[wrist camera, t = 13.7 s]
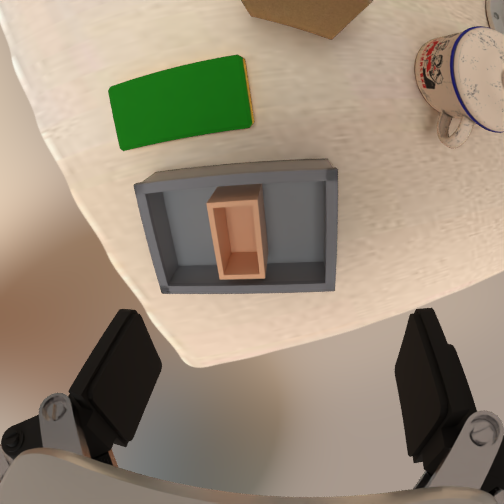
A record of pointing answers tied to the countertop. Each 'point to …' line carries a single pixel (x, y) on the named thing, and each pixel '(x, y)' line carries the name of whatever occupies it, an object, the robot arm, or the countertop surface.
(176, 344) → the countertop surface
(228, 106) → the dish sponge
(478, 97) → the teacup with lid
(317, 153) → the countertop surface
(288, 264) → the big crate
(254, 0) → the sandwich container
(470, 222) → the countertop surface
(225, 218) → the box
